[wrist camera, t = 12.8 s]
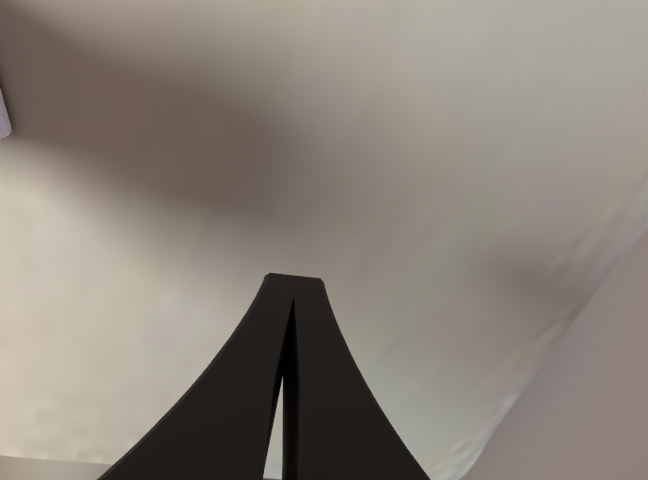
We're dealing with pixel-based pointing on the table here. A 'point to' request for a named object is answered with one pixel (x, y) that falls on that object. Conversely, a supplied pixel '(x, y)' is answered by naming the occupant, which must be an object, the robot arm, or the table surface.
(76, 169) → the table surface
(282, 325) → the robot arm
